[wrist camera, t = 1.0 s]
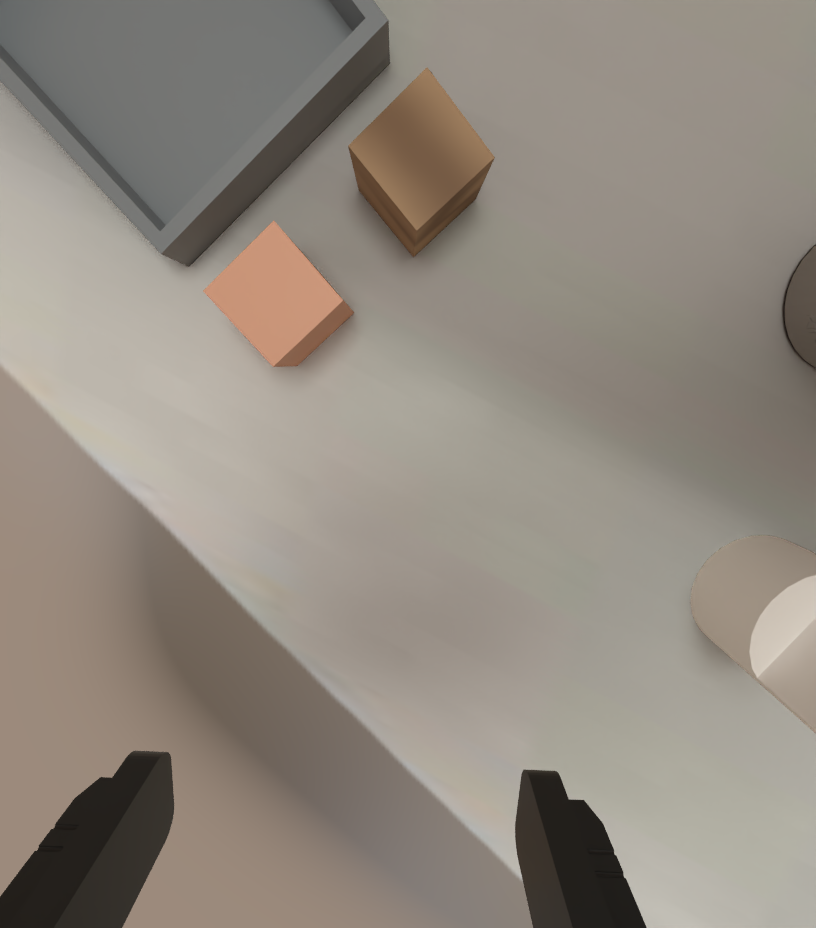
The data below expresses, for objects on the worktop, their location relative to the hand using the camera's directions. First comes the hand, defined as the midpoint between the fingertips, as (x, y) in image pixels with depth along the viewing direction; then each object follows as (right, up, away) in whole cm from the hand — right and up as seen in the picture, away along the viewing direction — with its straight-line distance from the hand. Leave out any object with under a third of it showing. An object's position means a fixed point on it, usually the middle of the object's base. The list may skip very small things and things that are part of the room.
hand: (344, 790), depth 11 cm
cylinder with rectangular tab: (+27, -2, +24) cm, 36 cm away
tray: (-11, +31, +16) cm, 37 cm away
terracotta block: (-5, +17, +19) cm, 26 cm away
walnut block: (+2, +24, +18) cm, 30 cm away
